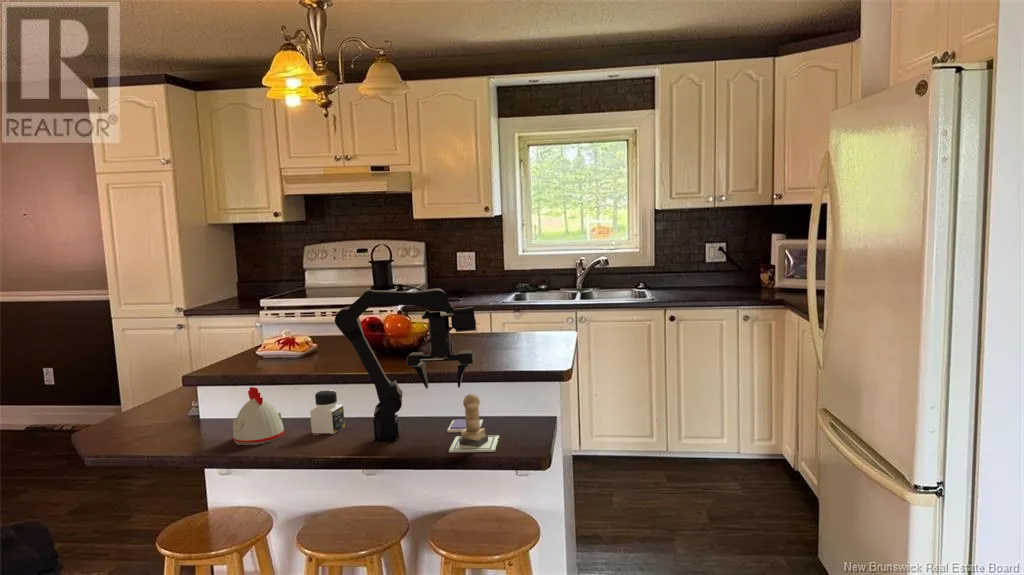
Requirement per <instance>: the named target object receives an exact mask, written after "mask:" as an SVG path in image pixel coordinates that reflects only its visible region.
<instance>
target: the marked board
mask: <svg viewBox="0 0 1024 575" xmlns="http://www.w3.org/2000/svg"><path fill="white" fill-rule="evenodd" d="M460 438H462V435H460V436H455V438H454V440H453V442H452V443H451V445H450V447H449V449H448V453H449V454H450V453H485V452H487V453H491V452H492V453H495V452H496V449H497V447H498V443H499V440H500V435H488V441H487V442H486V443H484V444H483V445H481V446H480V447H476V446H468V445H459V439H460ZM498 439H499V440H498ZM496 446H497V447H496Z"/></svg>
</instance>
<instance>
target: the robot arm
mask: <svg viewBox="0 0 1024 575" xmlns="http://www.w3.org/2000/svg"><path fill="white" fill-rule="evenodd" d="M448 298H449V297H448V295H447V293H446V292H445V291H444V290H443V289H441V288H429V289H423V290H419V291H418V290H417V291H405V290H403V291H400V290H399V291H397V290H395V291H394V290H374V289H367V290H365V291H364V292H363V293H362V295H361V296H360V297H358V298H357V299H356V300H354V302H353V303H352V304H351V305H349V306H344V307H342V308H341V309H339V311H338V312H337V313H336V314H335V317H334V324H335V326H336V327H337V328H338V330H339V331H340V332H341V333H342V335H343V336H345V338H346V339H348V341H349V342H350V343H351V344H352V346H353V349H354V350H355V352H356V353H357V354H356V355H358V357H359V359H360V361H361V363H362V364H363V367H364V368H365V371H366V372H367V373H368V376H369V378H370V379H371V381H372V383H373V385H374V387H375V391H376V395H377V399H378V401H379V402H378V403H377V404H376V405H375V406H374V413H373V417H372V419H373V420H372V421H373V434H374V435H373V436H374V437H373V438H372V442H373V443H374V442H375V443H377V442H379V443H380V442H383V443H385V442H396V441H397V440H398V439H399V437H400V436H401V434H402V432H401V430H402V429H401V420H399V415H398V414H396V413H398V412H399V411H400V409H401V408H402V405H403V390H402V389H401V387H400V386H399V384H398V382H397V379H395V380H393V381H391V380H390V379H389V377H388V376H387V375H386V373H385V370H384V369H383V367H382V366H381V364H380V361H379V360H378V358H377V356H376V355H375V352H374V351H373V349H372V347H371V345H370V343H369V341H368V340H367V338H366V336H365V334H364V330H363V327H362V323H361V320H360V316H362V314H364V313H365V312H366V311H367V310H368V309H369V308H370V307H371V306H372V305H373V306H374V305H378V306H379V305H380V306H384V305H386V306H387V305H388V306H409V307H411V306H413V307H418V308H421V309H422V308H423V309H425V311H424V313H423V314H422V315H421V319H422V320H427V321H428V333H429V334H428V335H429V340H428V349H429V351H430V353H429V354H425V352H424V351H417V352H414V351H413V352H411V353H409V354H408V356H406V366H409V367H411V369H414V370H415V371H416V373H417V374H418V376H419V377H420V379H421V381H422V383H423V386H424V387H425V389H429V382H428V381H429V380H428V374H427V362H429V363H430V362H455V361H456V362H457V361H458V364H457V381H456V384H457V388H460V387H461V384H462V380H463V376H464V372H465V371H466V370H465V369H466V368H468V367H469V366H470V365H471V364H474V362H475V360H476V352H475V351H474V350H473V349H471V350H470V349H469V350H468V349H467V350H460V351H459V353H454V352H455V349H454V348H455V347H454V345H455V343H454V341H453V340H451V334H450V327H451V330H454V331H455V333H465V332H473V331H475V332H476V331H477V320H476V317H475V308H474V307H473V306H468V307H467V306H466V307H462V308H461V307H460V308H459V307H458V308H454V305H453V304H451V303H450V302H449V299H448ZM430 310H432V311H431V312H430ZM441 311H442V312H444V314H442V313H441ZM450 322H451V324H450ZM450 325H451V326H450Z"/></svg>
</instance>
